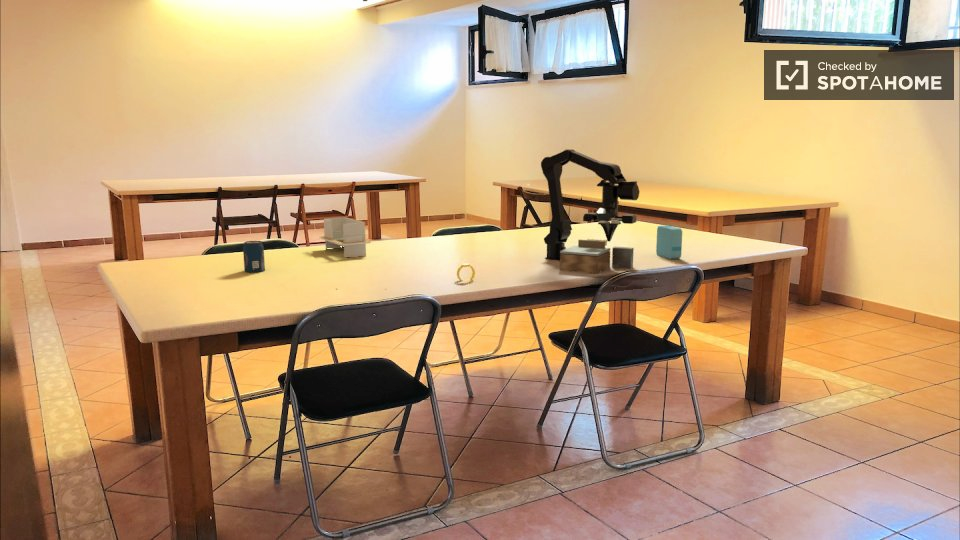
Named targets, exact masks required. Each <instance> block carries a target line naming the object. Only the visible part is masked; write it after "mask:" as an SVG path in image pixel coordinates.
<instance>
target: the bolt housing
mask: <svg viewBox="0 0 960 540" xmlns="http://www.w3.org/2000/svg"><path fill="white" fill-rule="evenodd" d="M634 250H635V247H625V246H613V247H612V250H611V251H612V252H611V253H612V254H611V255H612V256H611V259H612V260H611V267H612V268H619V269H621V268H622V269H632V268H633V267H634Z"/></svg>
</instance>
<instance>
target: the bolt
mask: <svg viewBox="0 0 960 540" xmlns="http://www.w3.org/2000/svg"><path fill="white" fill-rule="evenodd" d="M586 240H596V241H605V247H606V246H608V241H607V239H601V238H600V239H599V238H587V239H586Z"/></svg>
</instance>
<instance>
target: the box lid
mask: <svg viewBox="0 0 960 540" xmlns="http://www.w3.org/2000/svg"><path fill="white" fill-rule="evenodd" d="M577 244H578V245H573V246H570V247H566V249H564V250H562V251H560V253H563V254H576V255H589V256H599V255H601V254H604V253H606V252H608V251H610V252H611V248H610V247H606V246H605V241H596V240H587V239H578V243H577Z"/></svg>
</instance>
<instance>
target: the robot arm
mask: <svg viewBox="0 0 960 540" xmlns="http://www.w3.org/2000/svg"><path fill="white" fill-rule="evenodd" d="M569 162H571V163H573V164H575V165H578V166H581V167H583V168H585V169H587V170H589V171H592V173H594V174H595V175H596V176H597V177H599V178H600V179H601V180H600V181H599V182H598V183H597V184H596V186H597V187H600V188H601V187H602V189H601V191H602V192H601V193H602V195H601V198H602V199H601V202H600V207H599V209H598V210H597V211H596V212H587V213H584V214H583V216H582V221H583V222H590V223H591V222H593V221H598V222H597V224H598V225H600V226H601V228H602V229H603V232H604V234H605V237H606V240H607V242H609V243H610V242H611V240H612V239H613V236H614V234H615V231H616V229H617V227H618V226H619V225H621V224H622V223H623V224H630V225H631V224H634V223H637V219H638V218H637V215H636V214H626V213H625V214H623V215H619V212H618V211H619V210H618V209H619V203H620V202H619V199H620V200H621V201H637V200H638V199H639V197H640V188H639V185H638V181H637V180H634V181H628V180H627V179H626V178H625V176H624V174H623V173H622V170H621V167H620V166H619V164H616V163H611V162H604V161H601V160H597V159H594V158H592V157H590V156H588V155H585V154H583V153H580V152H578V151H576V150H575V149H572V148H570V149H569V148H566V149H565V150H564V149H563V151H560V152H558V153H557V154H554V155H552V156H546V157H544V158H543V159H542V160H541V162H540V168H541V171H542V175H544V177H545V179H546V181H547V188H548V195H549V196H548V197H549V204H550V213H551V220H550V223H549V232H548V234H547V235H545V236H544V238H543V241H544V244H545V245H546V256H545V257H544V259H545V260H552V261H553V260H554V261H560V254H562V253H560V251H562V250H564V249H567V247H566V246H565V243H567V241H568V239H569V237H570V236H571V234H572V231H573V228H572V220H571V219H567V217H566V215H565V210H564V209H565V207H564V199H563V194H562V185H561V177H562V173H563V166H566V165H567V164H568V163H569Z"/></svg>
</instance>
